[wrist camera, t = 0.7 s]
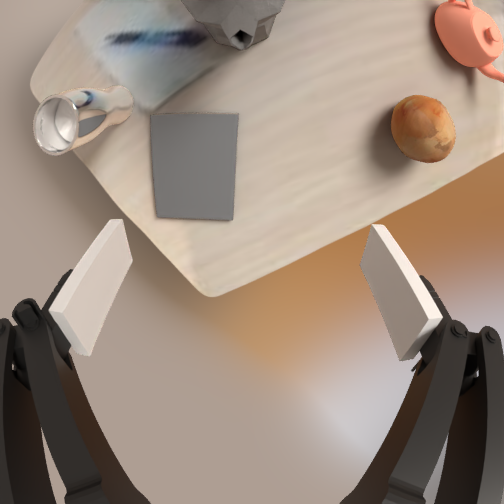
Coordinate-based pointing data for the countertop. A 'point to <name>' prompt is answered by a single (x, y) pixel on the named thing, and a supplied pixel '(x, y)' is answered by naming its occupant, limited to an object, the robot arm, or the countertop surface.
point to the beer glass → (79, 116)
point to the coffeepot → (236, 19)
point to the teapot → (469, 36)
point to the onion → (423, 129)
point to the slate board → (194, 164)
